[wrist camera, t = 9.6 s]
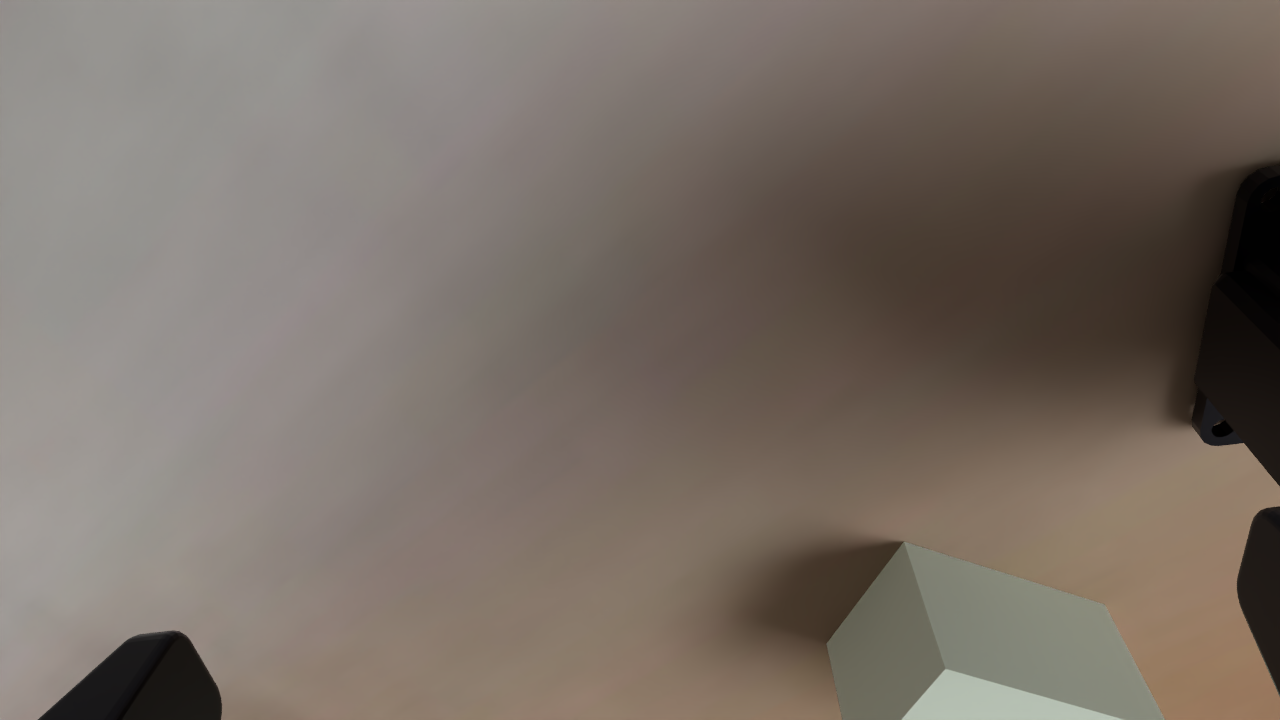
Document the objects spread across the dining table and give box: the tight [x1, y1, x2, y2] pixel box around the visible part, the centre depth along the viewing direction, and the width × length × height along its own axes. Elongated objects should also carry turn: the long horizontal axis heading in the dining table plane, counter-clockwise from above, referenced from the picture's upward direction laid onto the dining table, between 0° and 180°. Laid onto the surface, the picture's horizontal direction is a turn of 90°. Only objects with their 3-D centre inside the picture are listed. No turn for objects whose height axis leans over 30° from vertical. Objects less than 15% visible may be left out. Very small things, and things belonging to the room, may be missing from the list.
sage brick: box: [826, 542, 1165, 720], centre depth 25 cm, size 6×4×4 cm, turn 68°
